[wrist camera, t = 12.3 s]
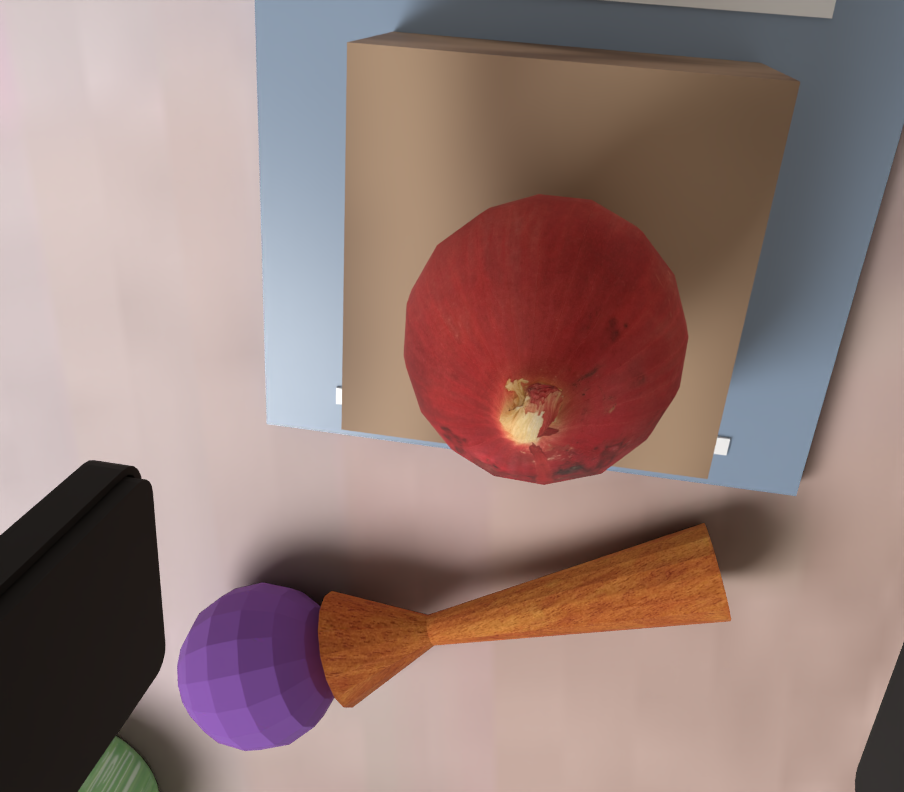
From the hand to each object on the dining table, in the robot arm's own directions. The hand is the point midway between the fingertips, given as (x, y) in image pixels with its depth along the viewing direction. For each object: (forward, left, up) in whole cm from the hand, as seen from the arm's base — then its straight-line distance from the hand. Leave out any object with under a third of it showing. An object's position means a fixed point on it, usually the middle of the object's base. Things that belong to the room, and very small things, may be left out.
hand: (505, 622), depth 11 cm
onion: (0, 0, -12) cm, 12 cm away
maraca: (+3, +14, -18) cm, 23 cm away
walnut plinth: (0, -1, -17) cm, 17 cm away
